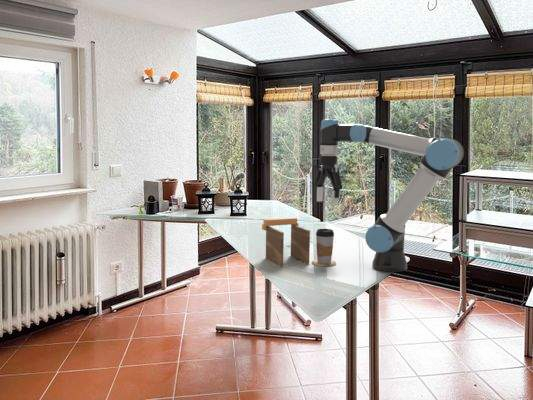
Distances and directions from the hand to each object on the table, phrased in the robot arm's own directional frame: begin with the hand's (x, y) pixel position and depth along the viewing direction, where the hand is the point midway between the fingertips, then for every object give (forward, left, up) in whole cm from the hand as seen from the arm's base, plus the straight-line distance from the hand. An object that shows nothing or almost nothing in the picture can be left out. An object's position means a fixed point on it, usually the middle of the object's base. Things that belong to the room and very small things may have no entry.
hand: (327, 203), depth 223 cm
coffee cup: (-2, -5, -28) cm, 29 cm away
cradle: (+12, -15, -29) cm, 35 cm away
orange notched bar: (+12, -23, -15) cm, 30 cm away
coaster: (-2, -5, -29) cm, 29 cm away
